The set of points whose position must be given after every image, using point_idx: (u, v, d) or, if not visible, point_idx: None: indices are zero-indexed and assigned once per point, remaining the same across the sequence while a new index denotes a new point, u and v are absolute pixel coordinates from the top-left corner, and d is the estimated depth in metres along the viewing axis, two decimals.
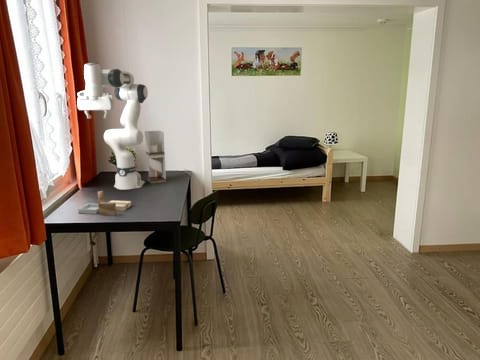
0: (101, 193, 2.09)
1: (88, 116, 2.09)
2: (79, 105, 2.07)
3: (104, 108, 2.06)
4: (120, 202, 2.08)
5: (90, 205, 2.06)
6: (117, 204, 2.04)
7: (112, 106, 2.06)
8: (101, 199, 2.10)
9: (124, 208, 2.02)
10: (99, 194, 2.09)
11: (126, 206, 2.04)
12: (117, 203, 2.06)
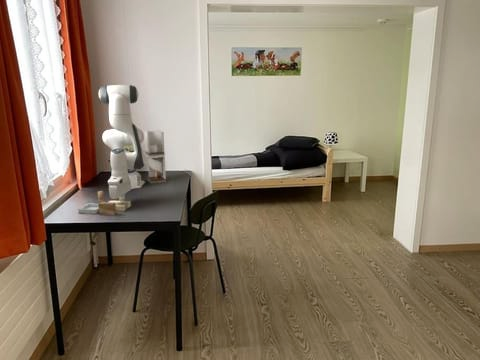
0: (101, 193, 2.09)
1: (123, 200, 2.11)
2: (117, 193, 2.02)
3: (128, 189, 2.16)
4: (119, 202, 2.07)
5: (90, 205, 2.06)
6: (116, 204, 2.04)
7: None
8: (101, 199, 2.10)
9: (123, 208, 2.02)
10: (99, 194, 2.09)
11: (125, 206, 2.03)
12: (116, 203, 2.06)
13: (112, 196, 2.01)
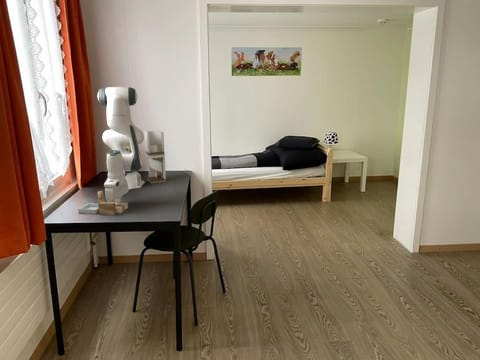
0: (101, 193, 2.09)
1: (119, 202, 2.08)
2: (113, 196, 1.98)
3: (125, 191, 2.12)
4: (116, 204, 2.04)
5: (90, 205, 2.06)
6: None
7: None
8: (101, 199, 2.10)
9: (120, 210, 1.98)
10: (99, 194, 2.09)
11: (122, 208, 2.00)
12: None
13: (108, 199, 1.97)
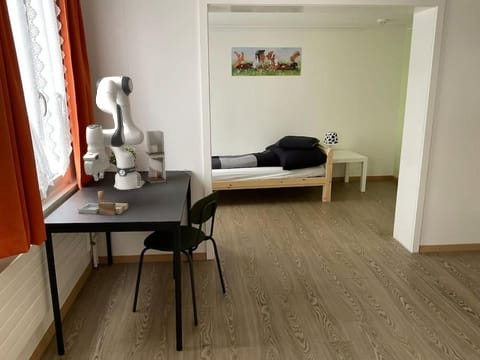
0: (101, 193, 2.09)
1: (98, 178, 2.05)
2: (93, 169, 1.98)
3: (106, 167, 2.12)
4: (116, 204, 2.04)
5: (90, 205, 2.06)
6: None
7: None
8: (101, 199, 2.10)
9: (120, 211, 1.98)
10: (99, 194, 2.09)
11: (122, 209, 2.00)
12: None
13: (87, 172, 1.97)
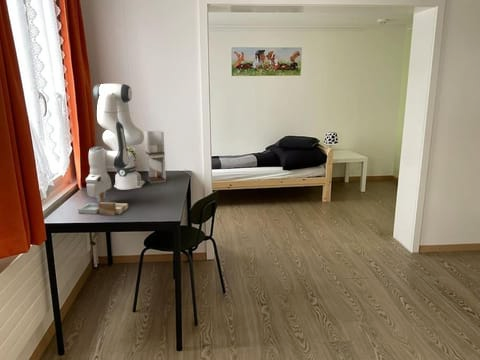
0: (101, 193, 2.09)
1: (100, 199, 2.09)
2: (95, 191, 2.01)
3: (108, 187, 2.15)
4: (116, 204, 2.04)
5: (90, 205, 2.06)
6: None
7: None
8: (101, 199, 2.10)
9: (120, 211, 1.98)
10: None
11: (122, 209, 2.00)
12: None
13: (90, 194, 2.00)
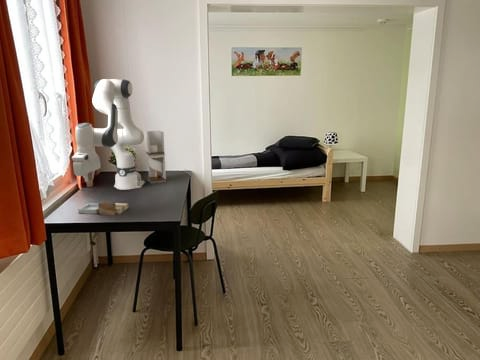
0: (89, 173, 1.96)
1: (88, 179, 1.96)
2: (82, 170, 1.88)
3: (97, 168, 2.02)
4: (116, 204, 2.04)
5: (90, 205, 2.06)
6: None
7: None
8: (89, 179, 1.97)
9: (120, 211, 1.98)
10: None
11: (122, 209, 2.00)
12: None
13: (76, 173, 1.87)
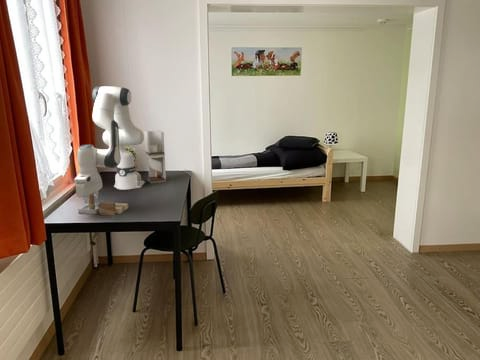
0: (92, 197, 1.99)
1: (88, 201, 1.96)
2: (84, 192, 1.90)
3: (99, 188, 2.05)
4: (116, 204, 2.04)
5: None
6: None
7: None
8: (92, 203, 2.00)
9: (120, 211, 1.98)
10: (89, 198, 1.99)
11: (122, 209, 2.00)
12: None
13: (79, 195, 1.90)
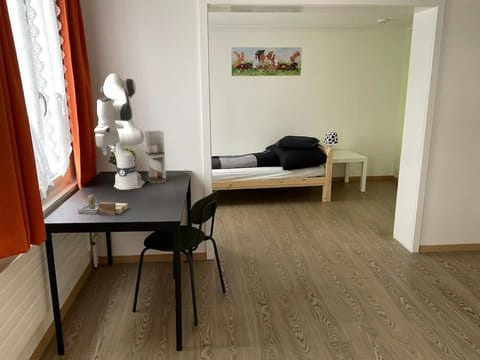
0: (92, 197, 1.99)
1: (106, 152, 2.04)
2: (104, 142, 1.99)
3: (116, 141, 2.13)
4: (116, 204, 2.04)
5: None
6: None
7: None
8: (92, 203, 2.00)
9: (120, 211, 1.98)
10: (90, 198, 1.99)
11: (122, 209, 2.00)
12: None
13: (99, 145, 1.98)
